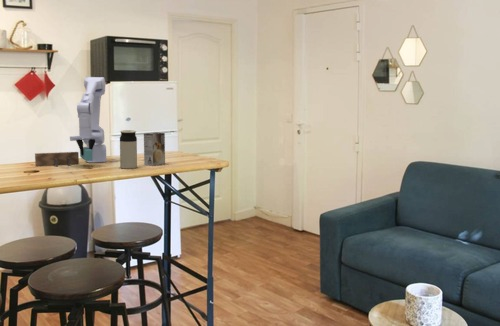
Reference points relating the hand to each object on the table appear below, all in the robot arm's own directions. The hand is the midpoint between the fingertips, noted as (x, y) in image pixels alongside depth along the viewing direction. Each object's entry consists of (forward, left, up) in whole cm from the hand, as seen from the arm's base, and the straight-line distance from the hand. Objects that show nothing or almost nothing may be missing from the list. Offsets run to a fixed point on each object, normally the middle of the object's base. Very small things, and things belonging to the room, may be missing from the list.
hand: (86, 155), depth 251 cm
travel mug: (-18, +11, -6) cm, 22 cm away
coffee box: (-33, +5, -6) cm, 34 cm away
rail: (0, 0, -2) cm, 2 cm away
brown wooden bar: (+12, -8, -6) cm, 16 cm away
